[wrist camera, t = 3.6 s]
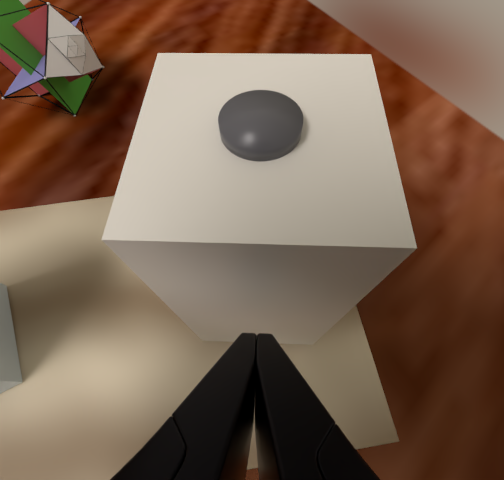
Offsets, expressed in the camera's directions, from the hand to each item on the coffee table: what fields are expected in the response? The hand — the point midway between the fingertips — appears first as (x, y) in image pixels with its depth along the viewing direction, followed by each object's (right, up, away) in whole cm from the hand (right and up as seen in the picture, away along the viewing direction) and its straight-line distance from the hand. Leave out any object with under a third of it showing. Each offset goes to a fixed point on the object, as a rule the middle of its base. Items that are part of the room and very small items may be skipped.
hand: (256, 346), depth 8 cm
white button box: (0, 0, +6) cm, 7 cm away
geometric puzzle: (-14, +14, +15) cm, 25 cm away
